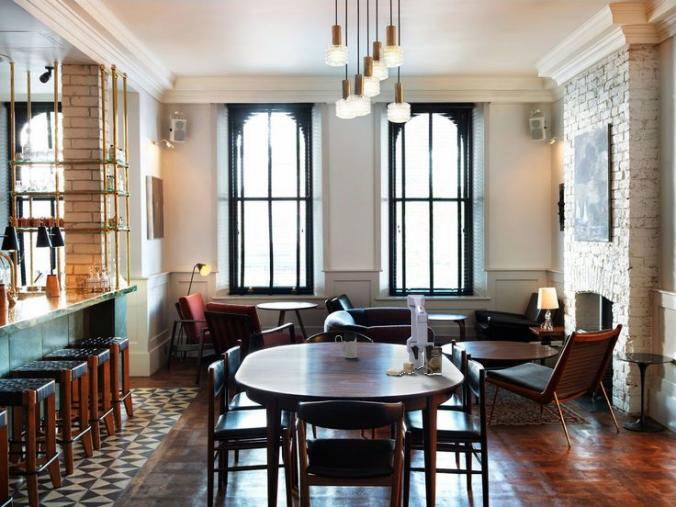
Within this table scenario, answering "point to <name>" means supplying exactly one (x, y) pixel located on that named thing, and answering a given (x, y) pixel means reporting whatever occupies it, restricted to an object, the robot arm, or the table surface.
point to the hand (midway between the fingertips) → (422, 359)
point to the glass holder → (349, 345)
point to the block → (408, 367)
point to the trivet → (394, 371)
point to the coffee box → (433, 361)
